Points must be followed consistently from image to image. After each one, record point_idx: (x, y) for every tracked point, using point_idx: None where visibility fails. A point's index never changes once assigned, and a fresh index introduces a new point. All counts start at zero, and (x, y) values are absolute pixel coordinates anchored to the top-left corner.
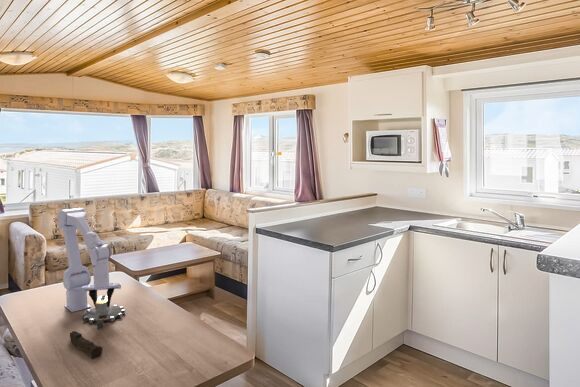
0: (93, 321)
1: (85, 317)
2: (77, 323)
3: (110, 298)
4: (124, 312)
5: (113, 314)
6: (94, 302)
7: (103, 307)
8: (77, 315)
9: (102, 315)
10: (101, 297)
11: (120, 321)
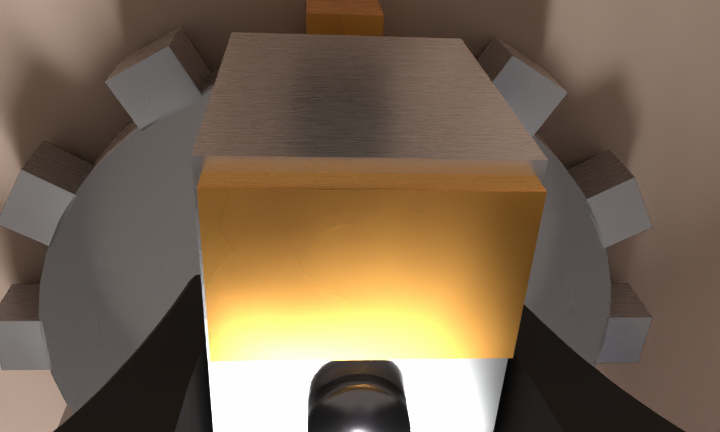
0: (483, 66)
1: (619, 199)
2: (708, 137)
3: (80, 411)
4: (4, 298)
5: (150, 202)
6: (557, 353)
7: (291, 106)
8: (673, 392)
9: (322, 37)
10: None
11: (6, 9)
